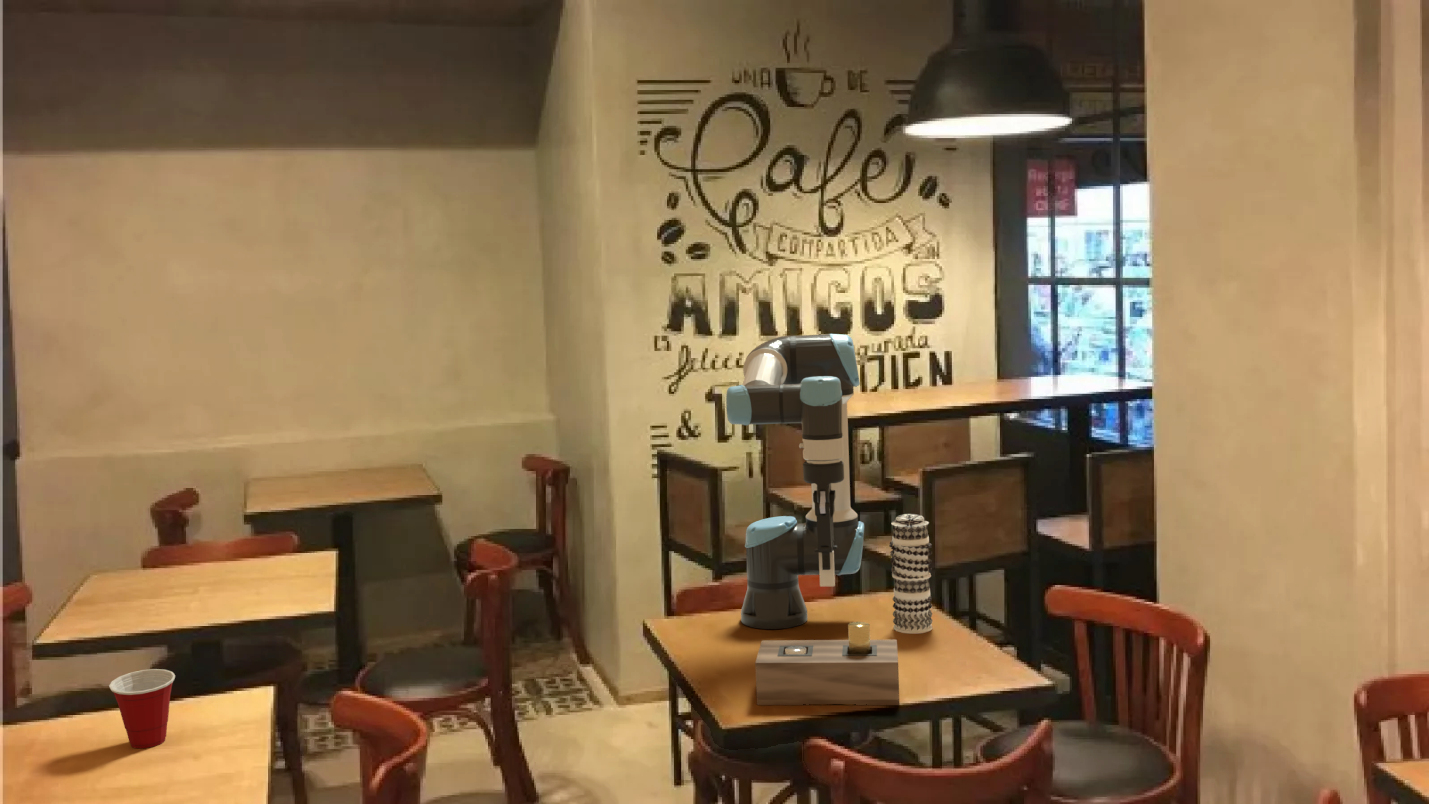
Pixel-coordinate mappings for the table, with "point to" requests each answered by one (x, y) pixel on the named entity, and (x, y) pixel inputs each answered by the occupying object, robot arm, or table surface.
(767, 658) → the walnut block
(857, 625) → the brass peg
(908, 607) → the white patterned cylinder
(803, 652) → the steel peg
